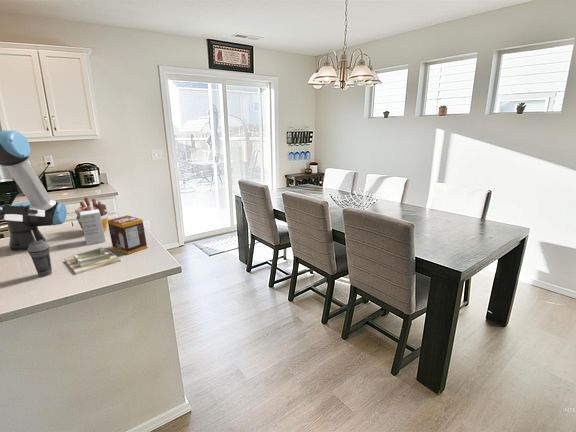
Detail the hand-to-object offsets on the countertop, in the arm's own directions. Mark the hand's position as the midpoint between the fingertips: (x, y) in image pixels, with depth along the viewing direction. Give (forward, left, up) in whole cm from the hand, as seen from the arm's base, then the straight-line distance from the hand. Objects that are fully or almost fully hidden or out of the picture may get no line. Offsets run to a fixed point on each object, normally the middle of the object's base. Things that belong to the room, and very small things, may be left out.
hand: (33, 216), depth 130 cm
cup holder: (+4, +17, -25) cm, 30 cm away
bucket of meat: (-46, +31, -25) cm, 61 cm away
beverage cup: (+4, -1, -25) cm, 26 cm away
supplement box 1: (-26, +26, -25) cm, 45 cm away
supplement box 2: (0, +35, -25) cm, 43 cm away
